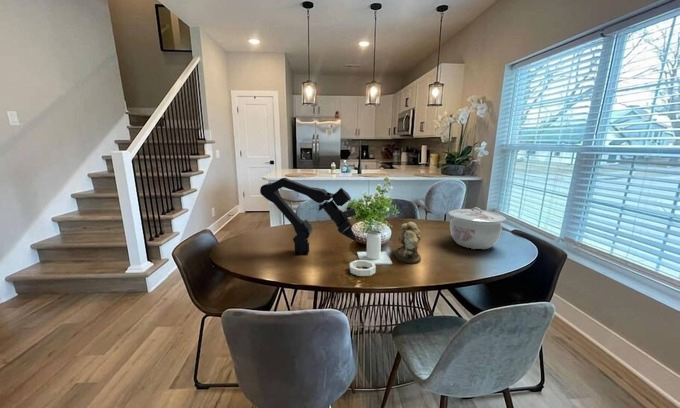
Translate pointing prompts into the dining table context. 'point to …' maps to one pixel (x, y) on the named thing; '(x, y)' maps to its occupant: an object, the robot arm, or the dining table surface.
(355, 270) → the ring
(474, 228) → the chamber pot
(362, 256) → the mat
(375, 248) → the can
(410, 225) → the owl figurine
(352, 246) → the dining table surface
